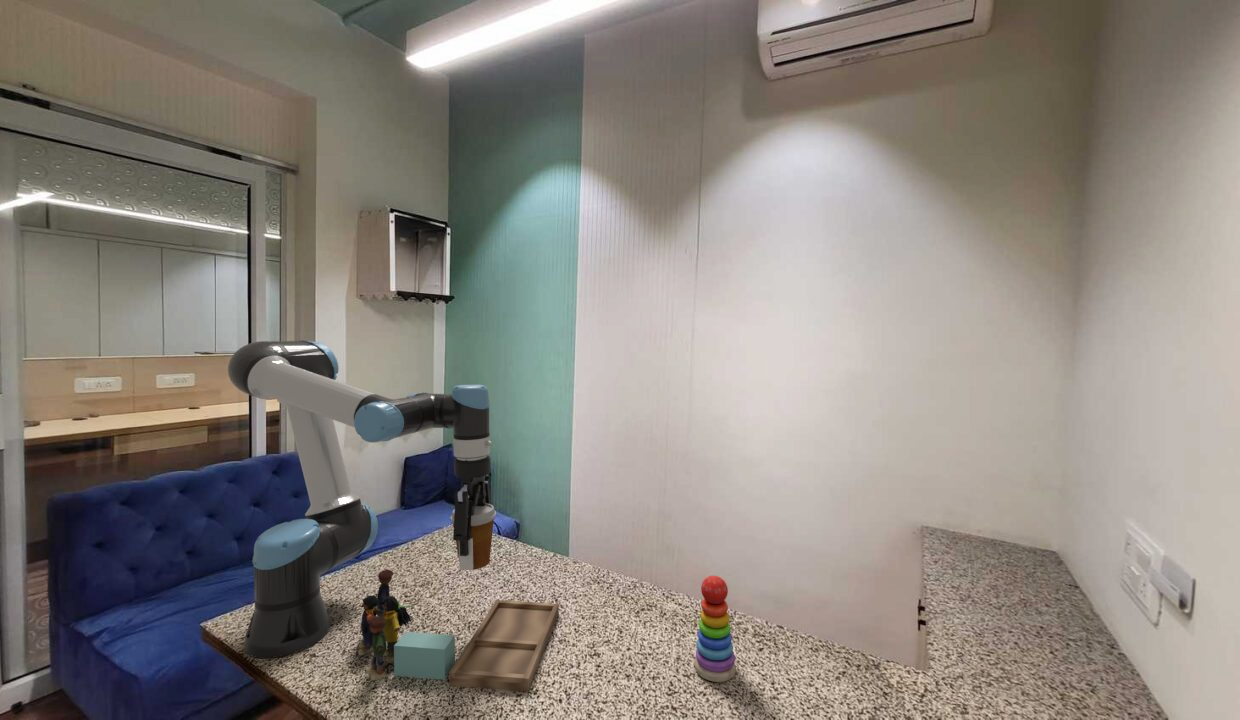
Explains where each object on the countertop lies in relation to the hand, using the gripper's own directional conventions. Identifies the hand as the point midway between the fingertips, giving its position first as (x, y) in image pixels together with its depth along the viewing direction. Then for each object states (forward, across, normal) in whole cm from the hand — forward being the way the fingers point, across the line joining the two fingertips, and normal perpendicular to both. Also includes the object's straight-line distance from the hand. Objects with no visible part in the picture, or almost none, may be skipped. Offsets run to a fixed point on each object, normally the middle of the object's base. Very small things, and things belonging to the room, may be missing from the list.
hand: (474, 559), depth 108 cm
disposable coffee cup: (+1, 0, 0) cm, 1 cm away
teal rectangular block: (+16, -13, +5) cm, 21 cm away
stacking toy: (+17, -6, -51) cm, 54 cm away
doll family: (+16, -8, +17) cm, 25 cm away
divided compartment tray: (+16, -4, -9) cm, 19 cm away
